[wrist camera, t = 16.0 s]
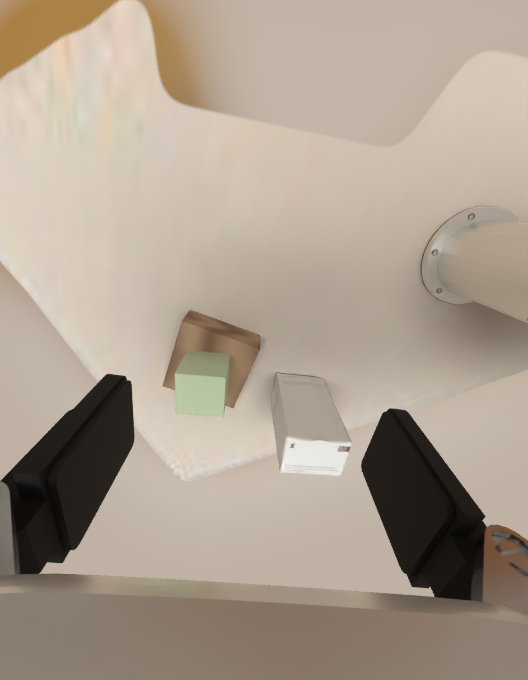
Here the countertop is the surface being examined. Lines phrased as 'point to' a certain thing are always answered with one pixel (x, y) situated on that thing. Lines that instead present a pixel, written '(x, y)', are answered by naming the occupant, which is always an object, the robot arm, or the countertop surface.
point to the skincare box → (307, 427)
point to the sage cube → (202, 383)
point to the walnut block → (215, 349)
